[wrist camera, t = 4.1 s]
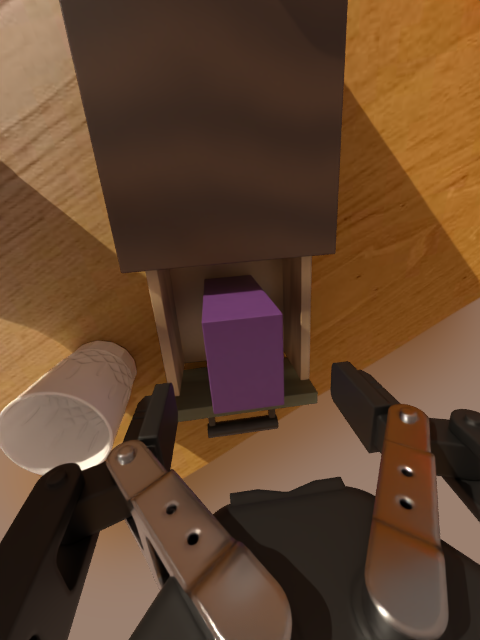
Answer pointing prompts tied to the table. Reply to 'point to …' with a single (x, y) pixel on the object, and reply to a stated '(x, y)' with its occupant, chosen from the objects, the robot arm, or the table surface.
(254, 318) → the snack box
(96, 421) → the white cup
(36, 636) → the robot arm
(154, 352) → the table surface
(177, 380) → the drawer
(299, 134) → the cabinet
